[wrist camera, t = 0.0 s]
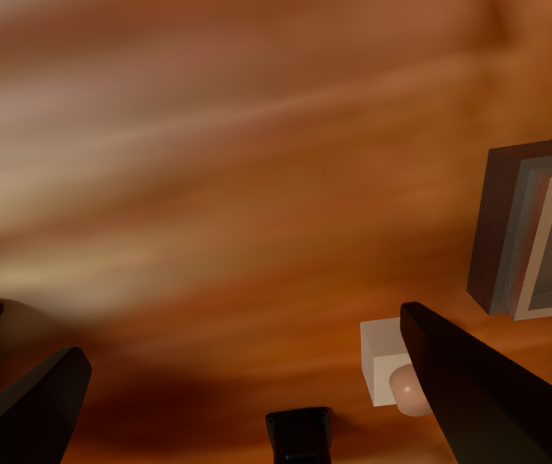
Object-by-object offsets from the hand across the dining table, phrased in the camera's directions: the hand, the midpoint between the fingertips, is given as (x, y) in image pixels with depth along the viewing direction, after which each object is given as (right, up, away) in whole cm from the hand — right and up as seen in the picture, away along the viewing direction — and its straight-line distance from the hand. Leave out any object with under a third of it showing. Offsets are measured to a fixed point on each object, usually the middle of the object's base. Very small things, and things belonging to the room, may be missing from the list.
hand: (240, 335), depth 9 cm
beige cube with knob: (+12, -7, +21) cm, 25 cm away
